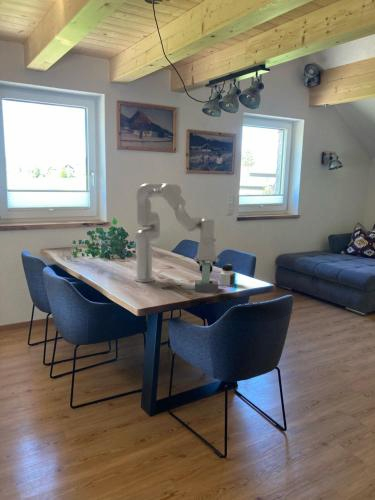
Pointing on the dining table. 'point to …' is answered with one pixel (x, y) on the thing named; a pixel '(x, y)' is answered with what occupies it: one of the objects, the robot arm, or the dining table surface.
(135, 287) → the dining table surface
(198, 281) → the header
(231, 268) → the medicine bottle
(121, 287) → the dining table surface
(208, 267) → the plug
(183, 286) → the pad
